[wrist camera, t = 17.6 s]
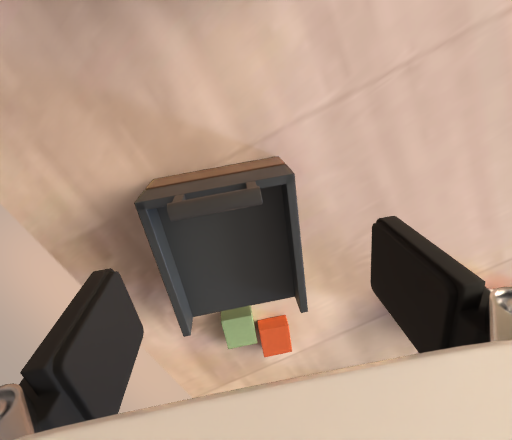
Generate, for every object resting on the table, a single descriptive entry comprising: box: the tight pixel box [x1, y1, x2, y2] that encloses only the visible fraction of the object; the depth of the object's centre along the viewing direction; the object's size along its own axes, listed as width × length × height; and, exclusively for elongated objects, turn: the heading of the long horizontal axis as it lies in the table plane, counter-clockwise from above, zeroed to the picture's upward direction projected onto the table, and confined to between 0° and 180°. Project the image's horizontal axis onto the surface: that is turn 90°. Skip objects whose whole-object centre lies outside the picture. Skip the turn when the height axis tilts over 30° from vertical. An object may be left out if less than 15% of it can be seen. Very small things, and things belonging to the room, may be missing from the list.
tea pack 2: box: [257, 315, 292, 357], centre depth 39 cm, size 5×4×2 cm
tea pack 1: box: [221, 306, 257, 349], centre depth 38 cm, size 5×4×2 cm
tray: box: [134, 164, 308, 337], centre depth 27 cm, size 16×14×7 cm
